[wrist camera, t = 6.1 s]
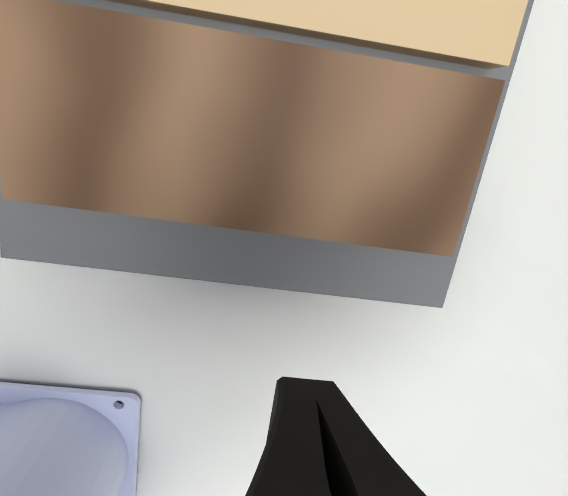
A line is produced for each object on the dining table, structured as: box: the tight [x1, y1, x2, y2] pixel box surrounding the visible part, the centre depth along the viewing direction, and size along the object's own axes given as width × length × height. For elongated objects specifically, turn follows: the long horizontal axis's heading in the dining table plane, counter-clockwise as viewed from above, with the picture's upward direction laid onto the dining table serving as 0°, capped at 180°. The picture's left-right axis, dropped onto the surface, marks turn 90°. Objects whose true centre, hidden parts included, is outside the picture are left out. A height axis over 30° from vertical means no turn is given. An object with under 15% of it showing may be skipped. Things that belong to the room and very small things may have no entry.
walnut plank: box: [0, 0, 505, 257], centre depth 16 cm, size 18×7×1 cm, turn 81°
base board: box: [0, 0, 534, 308], centre depth 16 cm, size 20×18×2 cm
